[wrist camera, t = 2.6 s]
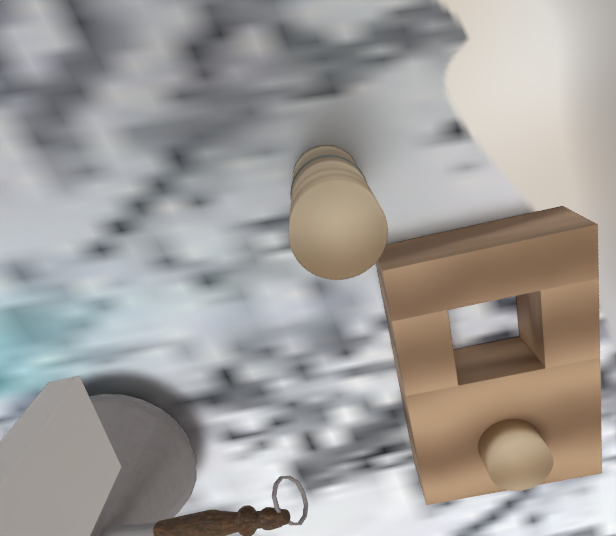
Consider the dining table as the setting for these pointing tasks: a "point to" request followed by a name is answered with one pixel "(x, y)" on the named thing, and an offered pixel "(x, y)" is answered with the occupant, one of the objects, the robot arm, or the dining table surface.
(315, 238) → the beech dowel
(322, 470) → the dining table surface
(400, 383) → the wooden block with hole
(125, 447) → the coffee pot
